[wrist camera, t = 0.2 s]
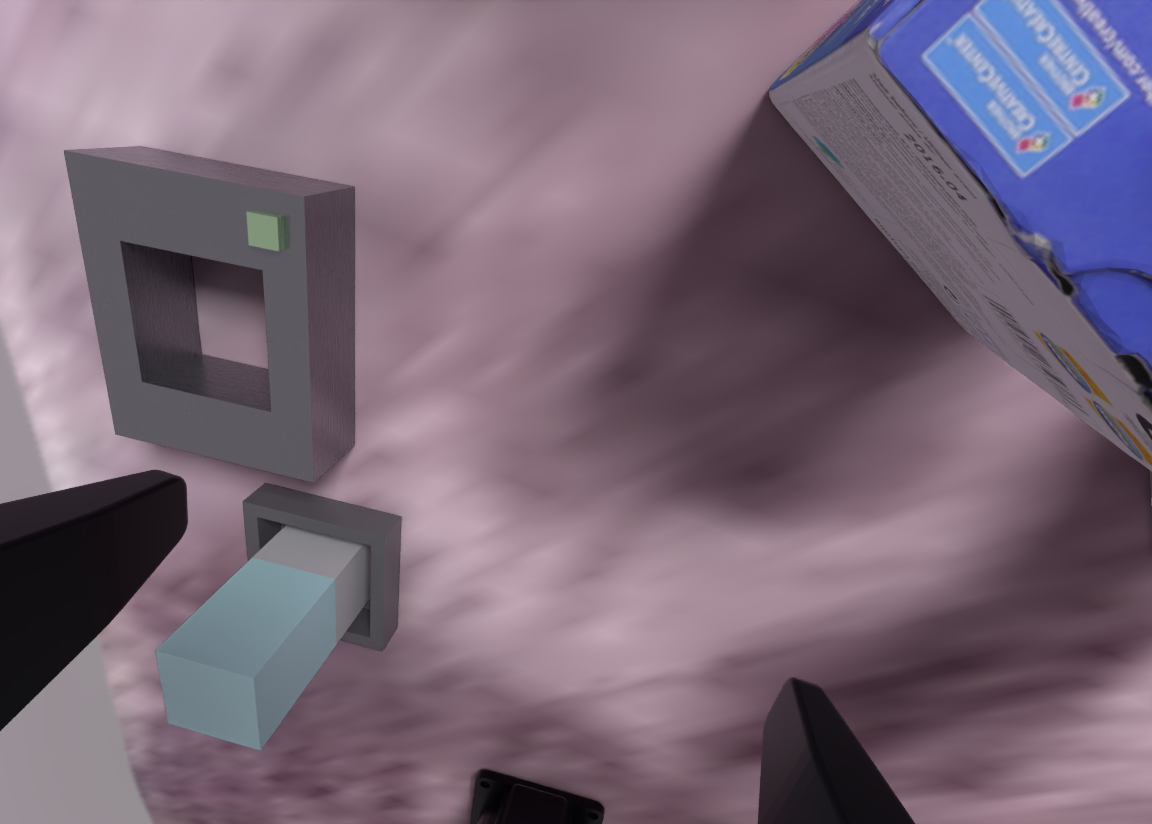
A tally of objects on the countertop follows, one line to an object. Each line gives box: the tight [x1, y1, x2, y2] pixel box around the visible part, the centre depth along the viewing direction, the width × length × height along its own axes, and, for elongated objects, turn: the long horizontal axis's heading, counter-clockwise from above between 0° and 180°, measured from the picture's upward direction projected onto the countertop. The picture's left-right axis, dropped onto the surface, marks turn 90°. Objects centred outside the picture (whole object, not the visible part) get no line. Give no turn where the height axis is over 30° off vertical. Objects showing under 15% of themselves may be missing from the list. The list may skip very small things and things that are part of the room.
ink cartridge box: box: [769, 0, 1152, 471], centre depth 12 cm, size 10×6×14 cm, turn 46°
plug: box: [155, 525, 371, 751], centre depth 25 cm, size 4×4×8 cm
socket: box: [64, 146, 355, 483], centre depth 23 cm, size 10×8×3 cm
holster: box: [243, 483, 402, 651], centre depth 28 cm, size 6×6×2 cm
